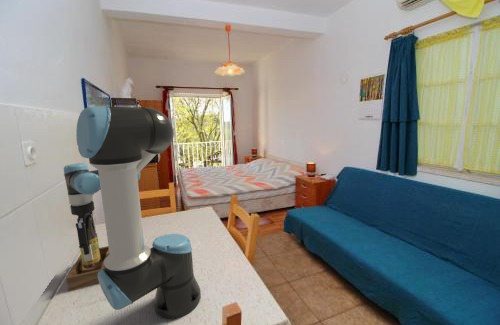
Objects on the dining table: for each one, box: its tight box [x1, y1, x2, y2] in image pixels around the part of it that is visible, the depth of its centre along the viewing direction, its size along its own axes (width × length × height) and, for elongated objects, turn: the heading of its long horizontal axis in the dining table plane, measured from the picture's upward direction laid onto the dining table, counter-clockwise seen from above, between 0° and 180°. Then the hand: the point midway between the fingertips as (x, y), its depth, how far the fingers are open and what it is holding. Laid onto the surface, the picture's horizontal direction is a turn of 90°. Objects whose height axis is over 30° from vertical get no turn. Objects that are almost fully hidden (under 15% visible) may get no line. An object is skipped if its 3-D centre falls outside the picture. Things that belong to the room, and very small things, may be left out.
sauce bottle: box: [79, 218, 100, 269], centre depth 94 cm, size 6×6×20 cm
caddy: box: [66, 245, 110, 292], centre depth 98 cm, size 20×22×6 cm
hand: (91, 255), depth 95 cm, fingers closed on sauce bottle, 6 cm apart
